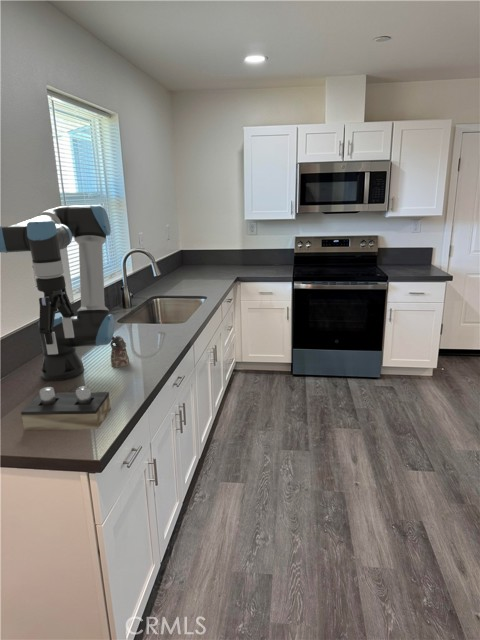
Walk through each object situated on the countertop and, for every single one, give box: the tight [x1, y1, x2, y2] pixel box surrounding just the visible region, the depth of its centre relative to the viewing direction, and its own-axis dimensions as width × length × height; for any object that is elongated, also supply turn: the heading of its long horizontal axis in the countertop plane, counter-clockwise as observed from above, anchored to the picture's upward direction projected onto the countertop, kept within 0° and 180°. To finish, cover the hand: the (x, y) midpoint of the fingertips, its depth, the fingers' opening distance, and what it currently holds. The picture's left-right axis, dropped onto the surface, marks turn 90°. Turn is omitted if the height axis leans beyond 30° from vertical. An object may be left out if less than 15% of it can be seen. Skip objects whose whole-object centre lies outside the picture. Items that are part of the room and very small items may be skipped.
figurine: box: [110, 335, 130, 368], centre depth 172 cm, size 7×7×12 cm
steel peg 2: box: [75, 385, 92, 405], centre depth 129 cm, size 4×4×6 cm
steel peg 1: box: [39, 386, 56, 406], centre depth 130 cm, size 4×4×6 cm
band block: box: [20, 391, 112, 431], centre depth 131 cm, size 12×22×6 cm, turn 88°
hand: (61, 345), depth 129 cm, fingers open, 13 cm apart
